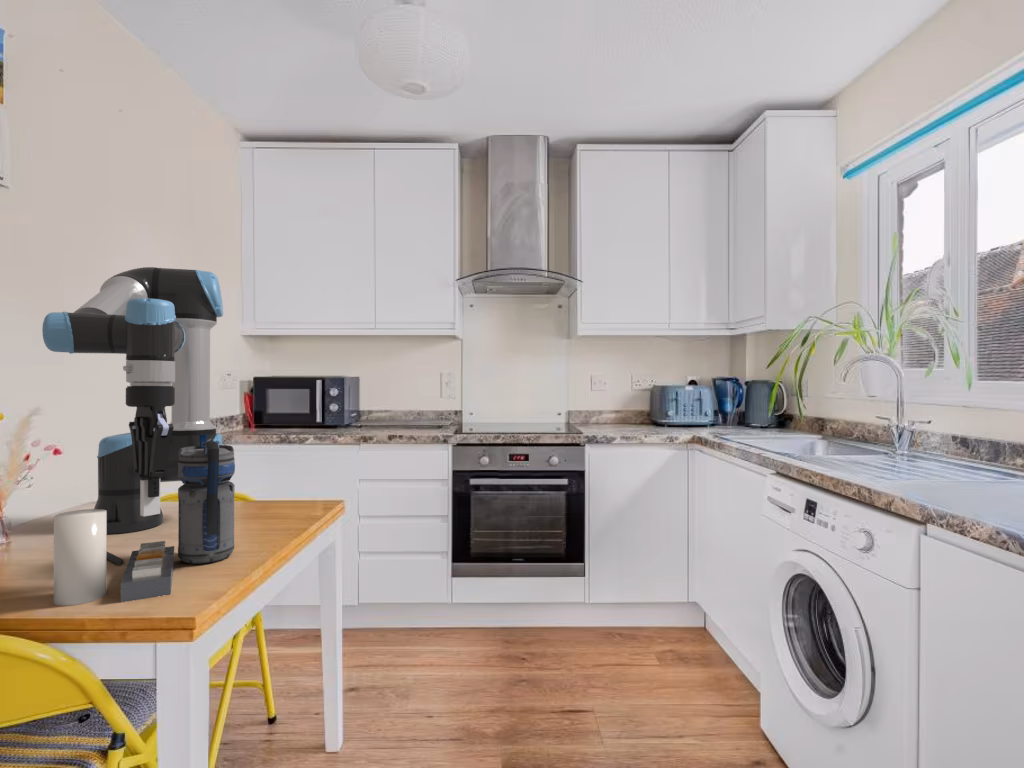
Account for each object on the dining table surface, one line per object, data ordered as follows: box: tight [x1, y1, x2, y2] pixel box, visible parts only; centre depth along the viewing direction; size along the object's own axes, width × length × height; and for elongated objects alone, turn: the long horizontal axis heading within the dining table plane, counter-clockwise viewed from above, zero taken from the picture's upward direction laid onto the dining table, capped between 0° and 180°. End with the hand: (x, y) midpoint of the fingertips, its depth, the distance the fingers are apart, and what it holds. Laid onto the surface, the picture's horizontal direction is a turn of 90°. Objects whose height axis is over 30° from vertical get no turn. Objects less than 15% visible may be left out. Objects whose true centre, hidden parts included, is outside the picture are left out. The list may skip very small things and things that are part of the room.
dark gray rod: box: [106, 551, 124, 566], centre depth 114 cm, size 11×1×1 cm, turn 54°
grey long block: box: [120, 540, 175, 603], centre depth 103 cm, size 20×7×5 cm, turn 29°
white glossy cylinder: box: [53, 508, 108, 607], centre depth 94 cm, size 7×7×14 cm
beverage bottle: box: [177, 434, 236, 565], centre depth 115 cm, size 10×13×25 cm
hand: (150, 514), depth 103 cm, fingers closed
